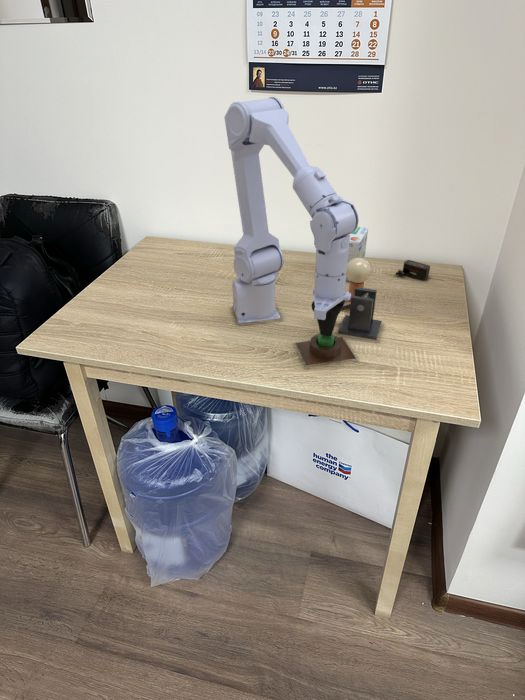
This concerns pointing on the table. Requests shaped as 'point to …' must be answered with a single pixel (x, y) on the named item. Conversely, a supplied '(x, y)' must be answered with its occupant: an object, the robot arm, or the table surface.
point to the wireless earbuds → (415, 270)
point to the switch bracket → (361, 316)
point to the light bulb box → (357, 244)
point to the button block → (324, 351)
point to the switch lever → (347, 305)
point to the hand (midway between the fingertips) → (326, 333)
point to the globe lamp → (357, 274)
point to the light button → (325, 340)
